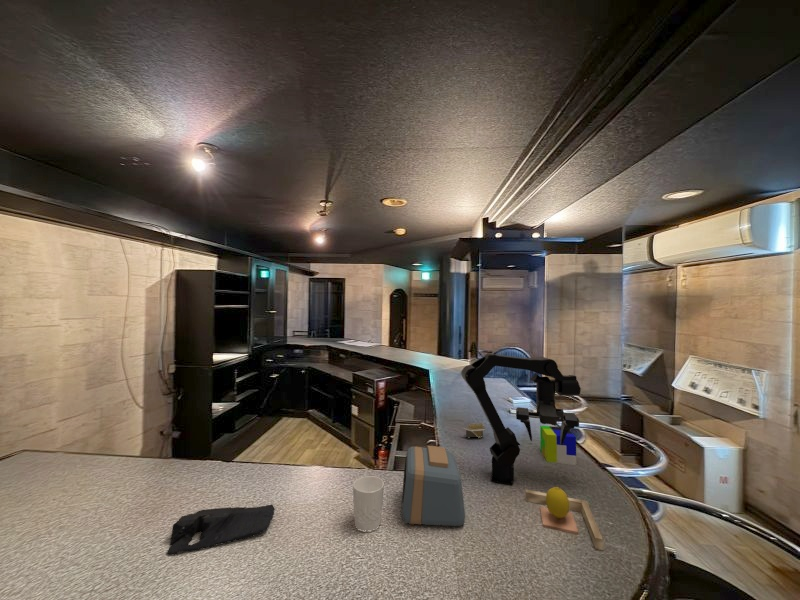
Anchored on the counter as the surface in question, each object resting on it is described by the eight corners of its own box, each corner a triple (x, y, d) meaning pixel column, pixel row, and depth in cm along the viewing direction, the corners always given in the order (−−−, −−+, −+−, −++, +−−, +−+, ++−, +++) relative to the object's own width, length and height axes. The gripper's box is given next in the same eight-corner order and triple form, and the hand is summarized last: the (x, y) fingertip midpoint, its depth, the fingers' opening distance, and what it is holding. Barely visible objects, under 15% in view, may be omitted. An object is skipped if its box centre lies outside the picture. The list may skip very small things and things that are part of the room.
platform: (500, 443, 132) (500, 428, 133) (461, 446, 129) (461, 430, 129) (487, 433, 144) (487, 419, 144) (451, 435, 140) (451, 420, 141)
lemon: (545, 509, 85) (545, 479, 86) (568, 514, 83) (567, 484, 84) (546, 521, 80) (546, 490, 81) (570, 527, 78) (570, 495, 78)
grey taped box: (403, 491, 94) (404, 438, 95) (456, 493, 94) (457, 439, 95) (401, 528, 78) (402, 463, 79) (466, 530, 77) (467, 465, 78)
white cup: (358, 538, 74) (359, 495, 74) (348, 519, 81) (349, 479, 81) (388, 528, 78) (388, 487, 78) (375, 510, 85) (376, 473, 85)
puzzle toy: (576, 465, 113) (576, 437, 114) (547, 462, 115) (546, 434, 116) (567, 453, 123) (567, 427, 124) (540, 450, 125) (540, 425, 126)
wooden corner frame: (529, 533, 77) (529, 523, 77) (525, 498, 92) (525, 489, 92) (603, 550, 71) (602, 539, 71) (586, 510, 86) (586, 500, 87)
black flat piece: (266, 545, 72) (267, 524, 72) (158, 560, 67) (159, 537, 67) (277, 505, 87) (278, 488, 87) (189, 515, 82) (190, 497, 82)
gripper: (516, 398, 99) (516, 447, 99) (582, 404, 93) (583, 457, 92) (515, 390, 110) (516, 435, 109) (575, 396, 104) (575, 443, 103)
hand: (546, 442), depth 103 cm, fingers open, 9 cm apart
